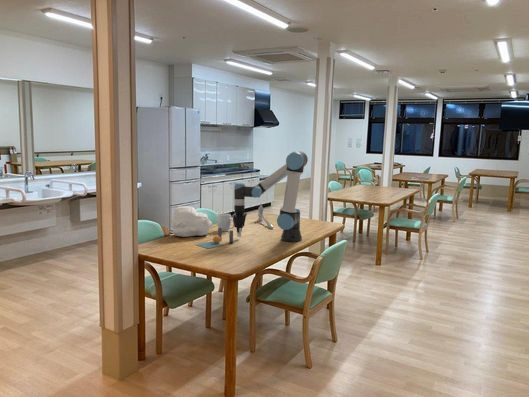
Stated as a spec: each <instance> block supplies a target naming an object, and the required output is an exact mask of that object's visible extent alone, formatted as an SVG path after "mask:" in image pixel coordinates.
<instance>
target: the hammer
mask: <svg viewBox="0 0 529 397" xmlns="http://www.w3.org/2000/svg"><path fill="white" fill-rule="evenodd" d="M257 209H258V214H257V217H258V219H257V222H265V223H266V225H267V227H268V228H269V230H274V226H273V225H272V223H270V222H269V221H268V219H267V218H266V216H265V215H264V207H263V204H262V203H260V205H259V207H258V208H257Z"/></svg>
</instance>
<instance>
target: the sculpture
mask: <svg viewBox="0 0 529 397" xmlns="http://www.w3.org/2000/svg"><path fill="white" fill-rule="evenodd" d="M211 227H213V222H212V221H211V220H210V219H209V217H208V214H206V213H205V212H201V211H197V210H196V208H194V207H193V206H190V205H187V206H186V205H185V206H183V205H182V206H178V207H176V208H175V209H174V210H173V214H172V220H171V228H172V233H173V235H174V236H176V237H182V238H188V237H195V236H200V237H201V236H205V235H208V234H209V232H210V228H211Z"/></svg>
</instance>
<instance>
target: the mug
mask: <svg viewBox="0 0 529 397" xmlns="http://www.w3.org/2000/svg"><path fill="white" fill-rule="evenodd" d="M216 224H217V229H218V228H222V231H225V232H228V231H230V230H231V229H234V228H235V227H234V222H233V217H232V215H231V213H223V212H222V213H217V214H216ZM231 224H232V226H231Z"/></svg>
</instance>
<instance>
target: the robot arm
mask: <svg viewBox="0 0 529 397" xmlns="http://www.w3.org/2000/svg"><path fill="white" fill-rule="evenodd" d="M308 162H309V160H308V156H307V154H306V153H305V152H303V151H300V150H299V151H292V152H291V153H289V154H288V155H287V156H286V159H285V164H284V165H282V166H281V167H279V168H278V169H277V170H276V171H274V172H273V173H271V174H270V175H269V176H267V177H266V178H265V179H263V180H262V181H261V182H259V183H257V184H256V185H253V186H248V185H247V186H246V184H245V183H244V182H238V183H235V184H234V188H233V190H234V196H233V199H234V200H233V201H234V202H233V204H234V206H233V207H234V208H233V210H234V213H233V214H232V215H231V218H232V219H233V221H232V223H233V222H234V228H236V236H237V238H241V237H242V232H243V228H244V227H245V223H246V217H247V212H245V205H246V202H245V201H246V199H245V198H254V199H255V198H256V199H257V198H260V197H261V196H262V195H263V194H264V193H265V192H267V191H268V190H269V189H271V188H272V187H273V186H275V185H277V184H278V183H280V182H281V181H282V180H284V179H285V178H286V183H285V184H286V185H285V191H284V196H283V204H282V206H281V207H280V209H279V215H278V217H277V218H276V224H277V226H278V227H279V228H280V229H281V230H282V233H281V236H280V240H282V241H283V242H292V243H294V242H295V243H296V242H297V243H298V242H301V241H302V240H303V236H302V233H301V230H300V228H301V210H300V208H296V206H297V205H296V204H297V198H298V192H299V185H300V179H301V175H303V173H304V169H305V166H306V165H307V164H308Z"/></svg>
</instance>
